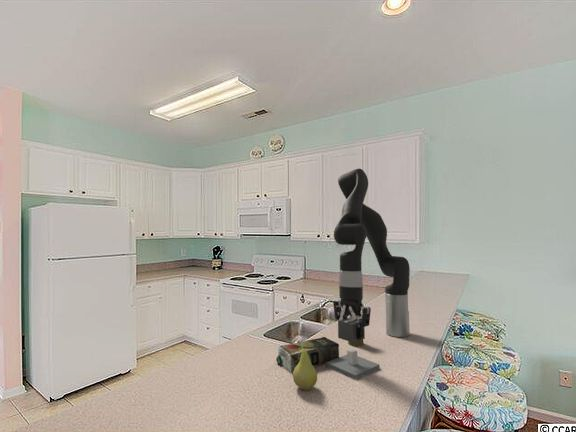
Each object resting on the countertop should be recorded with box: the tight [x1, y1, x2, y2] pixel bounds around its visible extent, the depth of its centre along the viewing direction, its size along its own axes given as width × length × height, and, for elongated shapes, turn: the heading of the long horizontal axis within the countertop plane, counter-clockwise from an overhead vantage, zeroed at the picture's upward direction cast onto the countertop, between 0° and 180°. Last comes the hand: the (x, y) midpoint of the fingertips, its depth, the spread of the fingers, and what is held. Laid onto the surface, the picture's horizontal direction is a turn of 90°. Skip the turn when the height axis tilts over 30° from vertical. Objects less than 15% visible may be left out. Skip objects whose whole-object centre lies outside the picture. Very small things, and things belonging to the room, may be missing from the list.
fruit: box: [292, 340, 318, 391], centre depth 86 cm, size 7×8×12 cm
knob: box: [337, 317, 366, 343], centre depth 100 cm, size 6×6×6 cm
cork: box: [347, 315, 365, 347], centre depth 121 cm, size 6×6×11 cm
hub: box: [325, 348, 380, 380], centre depth 99 cm, size 12×12×5 cm
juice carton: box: [275, 336, 340, 373], centre depth 104 cm, size 20×10×6 cm, turn 118°
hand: (351, 336), depth 100 cm, fingers closed on knob, 6 cm apart
